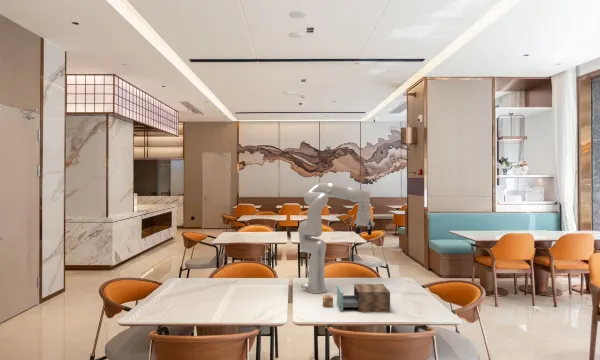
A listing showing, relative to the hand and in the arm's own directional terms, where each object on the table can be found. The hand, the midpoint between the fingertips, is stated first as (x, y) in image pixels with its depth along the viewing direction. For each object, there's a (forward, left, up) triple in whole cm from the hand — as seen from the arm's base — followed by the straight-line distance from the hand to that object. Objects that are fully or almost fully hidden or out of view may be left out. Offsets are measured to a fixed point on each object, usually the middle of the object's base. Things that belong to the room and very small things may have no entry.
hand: (363, 234), depth 276 cm
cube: (-30, -58, -31) cm, 72 cm away
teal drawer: (-16, -60, -30) cm, 69 cm away
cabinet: (-7, -60, -31) cm, 68 cm away
